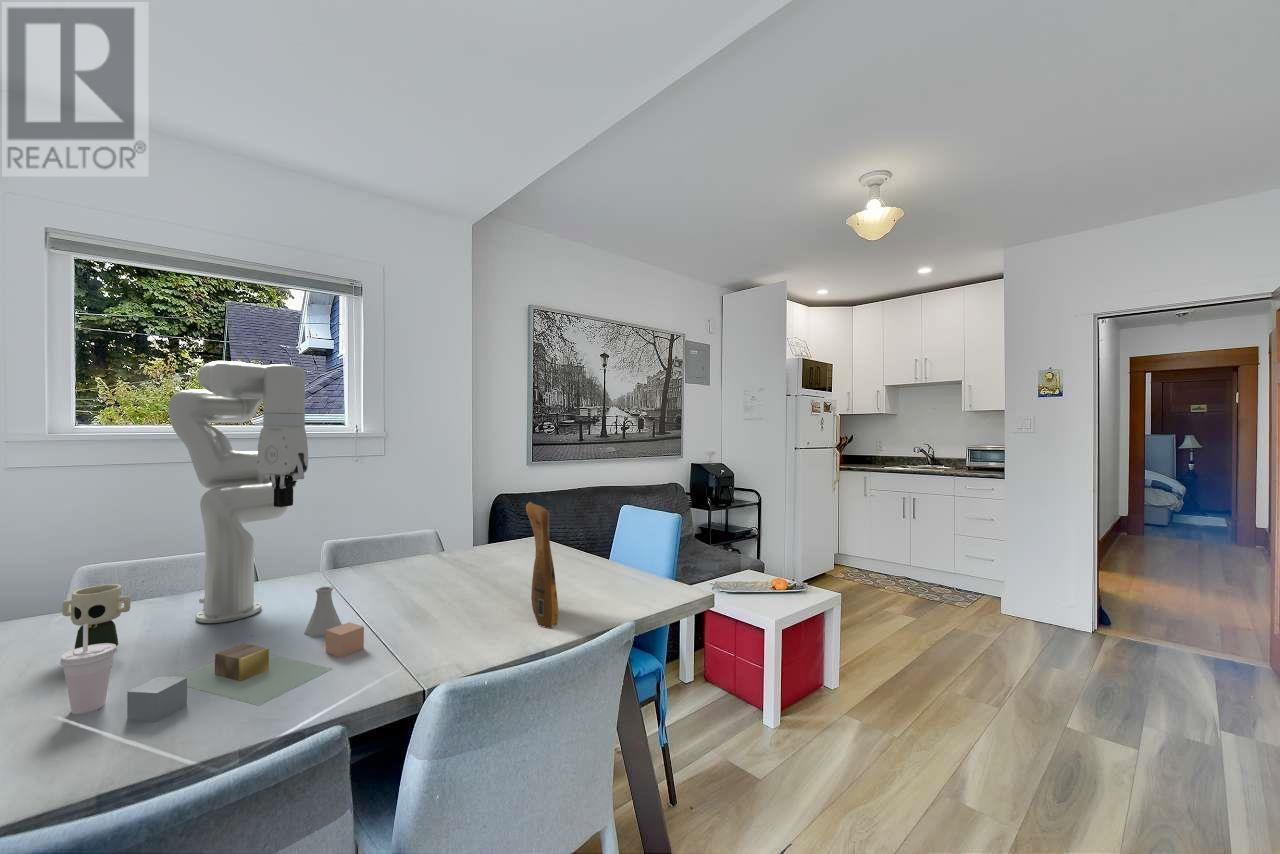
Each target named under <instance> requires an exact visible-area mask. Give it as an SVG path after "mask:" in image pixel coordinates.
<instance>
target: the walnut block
mask: <svg viewBox="0 0 1280 854" xmlns="http://www.w3.org/2000/svg"><path fill="white" fill-rule="evenodd" d="M269 655H270V649H269V648H268V647H263V646H258V645H254V644H249V643H244V642H242V643H240V644H237V645H234V646H232V647H229V648H226V649H223V650H220V651H217V652H215V653H214V662H215V675H216V676H220V677H225V678H229V679H233V680H237V681H244V680H246V679H248V678H250V677H253V676H255V675H257V674H260V673H262V672H264V671H266V670H269Z"/></svg>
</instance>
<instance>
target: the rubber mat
mask: <svg viewBox="0 0 1280 854" xmlns="http://www.w3.org/2000/svg"><path fill="white" fill-rule="evenodd" d="M332 670H333V668H331V667H326V666H322V665H318V664H314V663H309V662H303V661H299V660H295V659H290V658H285V657H281V656H278V655H277V656H276V655H272V654H269V670H266V671H264V672H262V673H260V674H257V675H255V676H253V677H250V678H248V679H246V680H244V681H237V680H233V679H229V678H225V677H220V676H216V675H215V661H212V662H210V663H207V664H204V665H201V666H200V667H196V668H194V669H192V670H190V671H186V672H184V673H181V674H179V675H176V676H175V677H181V678H187V688H190V689H193V690H199V691H202V692H205V693H210V694H213V695H217V696H220V697H224V698H228V699H230V700H231V699H232V700H235V701H239V702H243V703H247V704H251V705H254V706H258V707H259V706H261V705H263V704H265V703H267V702H269V701H271V700H273V699H275V698H277V697H280V696H281V695H283V694H285V693H287V692H289V691H291V690H293V689H296V688H299V687H300V686H301V685H304V684H306V683H307V682H310V681H312V680H314V679H316V678H319V676H322V675H323V674H325V673H328V672H330V671H332Z"/></svg>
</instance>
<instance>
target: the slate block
mask: <svg viewBox="0 0 1280 854" xmlns="http://www.w3.org/2000/svg"><path fill="white" fill-rule="evenodd" d="M126 696H127V697H126V698H127V699H126V701H127V703H126V704H127V708H126V709H127V710H126V711H127V712H126V713H127V714H126V721H132V722H135V721H136V722H150V723H158V722H159V721H161V720H163V719H165V718H166V717H168V716H170V715H172V714H174V713H175V712H177V711H178V710H181V709H182V708H184V707H186V706H187V705H188V702H187V701H188V687H187V678H181V677H176V676H161V675H160V676H157V677H155V678H153V679H150V680H149V681H148V680H147V682H145V683H142V684H140V685H138V686H136V687H134V688H132V689H129V690H128V691H127V694H126Z"/></svg>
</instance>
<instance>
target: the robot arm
mask: <svg viewBox="0 0 1280 854" xmlns="http://www.w3.org/2000/svg"><path fill="white" fill-rule="evenodd" d="M197 382H198V383H199V384H200V386H201V387H202V388H203V389H186V390H180V391H179V392H176V393H174V394H173V395H172V396H171V397H170V398H169V401H168V407H167V409H168V410H167V411H168V417H169V418H168V419H169V421H170V424H171V427H172V429H173V431H174V432H175V434H176V435H177V437H178V438H179V439H180V440H181V442H182V443H183V444H184V446H185V447H186V449H187V451H188V455H189V457H190V460H191V462H192V465H193V466H192V467H193V469H194V471H195V475H196V476H197V479H198V481H199V483H200V484H201V486H202V487H204V488H205V489H207V491H206V492H204V494H203V495H202V496H201V498H200V502H199V503H200V504H199V506H200V507H199V508H200V512H201V513H200V514H201V518H202V525H203V530H204V596H203V597H202V596H201V597H200V598H199V599H198V603H199V604H203V609H202V610H199V611H198V612H197V613H196V615H195V621H196V622H198V623H202V624H219V623H227V622H233V621H238V620H242V619H245V618H249V617H250V616H254V615H256V614H258V613H259V612H260V611H261V610H262V604H261V603H260V602H258V601H255V600H254V599H255V597H254V593H255V589H254V588H255V540H254V538H253V535H252V534H251V533H250V532H249V531H248V530H247V529H246V528H245V527H244V525H243V524H246V523H253V522H260V521H267V520H272V519H273V520H274V519H278V518H280V517H282V516H283V515H284V514H285V513H286V512H287V511H288V510H287V509H288V508H289V507H292V506H293V505H294V488H295V487H296V484H297V482H298V481H301V480H304V479H305V473H306V472H307V471H308V468H309V467H308V466H309V448H308V438H307V437H308V436H307V432H306V428H305V427H306V425H305V424H306V423H305V422H306V372H305V370H304V368H303V367H301V366H298V365H292V364H291V365H290V364H270V365H263V364H262V365H261V364H257V363H256V364H255V363H248V362H247V363H246V362H244V361H228V360H215V361H211V362H208V363H206V364H204V365H203V366H202V367H200V369H199V370H198V372H197ZM262 403H263V404H262ZM261 404H262V406H263V407H262V408H263V409H262V410H263V411H262V412H263V415H262V416H263V417H262V419H263V421H262V428H261V429H260V433H259V438H258V443H257V450H247V451H245V450H244V451H240V450H239V451H238V450H235V449H233V448H232V445H231V442H230V440H229V438H228V437H227V436H226V434H224V433H223V432H222V431H221V430H219V429H217V428H216V427H214V426H213V425H211V424H209V423H224V424H225V423H232V424H233V423H234V424H236V423H238V424H239V423H241V424H242V423H246V422H249V421H251V420H252V419H253V418H254V417H255V415H256V413H257V411H258V410H259V408H260V407H261Z"/></svg>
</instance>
